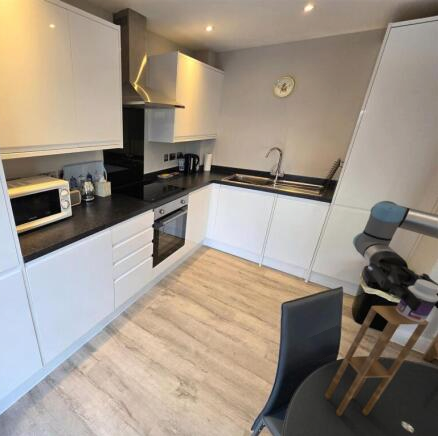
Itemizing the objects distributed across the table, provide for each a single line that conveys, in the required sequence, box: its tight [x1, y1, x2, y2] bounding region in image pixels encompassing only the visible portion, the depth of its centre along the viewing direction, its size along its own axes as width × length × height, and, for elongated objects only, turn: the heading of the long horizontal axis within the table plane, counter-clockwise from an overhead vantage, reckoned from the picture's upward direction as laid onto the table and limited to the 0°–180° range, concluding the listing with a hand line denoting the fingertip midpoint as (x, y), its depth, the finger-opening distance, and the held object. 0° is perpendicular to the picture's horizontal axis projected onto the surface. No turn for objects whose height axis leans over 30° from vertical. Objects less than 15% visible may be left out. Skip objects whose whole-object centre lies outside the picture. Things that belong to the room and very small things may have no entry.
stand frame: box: [324, 307, 429, 417], centre depth 70 cm, size 10×6×37 cm, turn 93°
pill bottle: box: [396, 279, 438, 322], centre depth 61 cm, size 5×5×10 cm
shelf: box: [370, 305, 430, 325], centre depth 63 cm, size 10×6×1 cm, turn 93°
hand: (434, 310), depth 56 cm, fingers open, 6 cm apart
